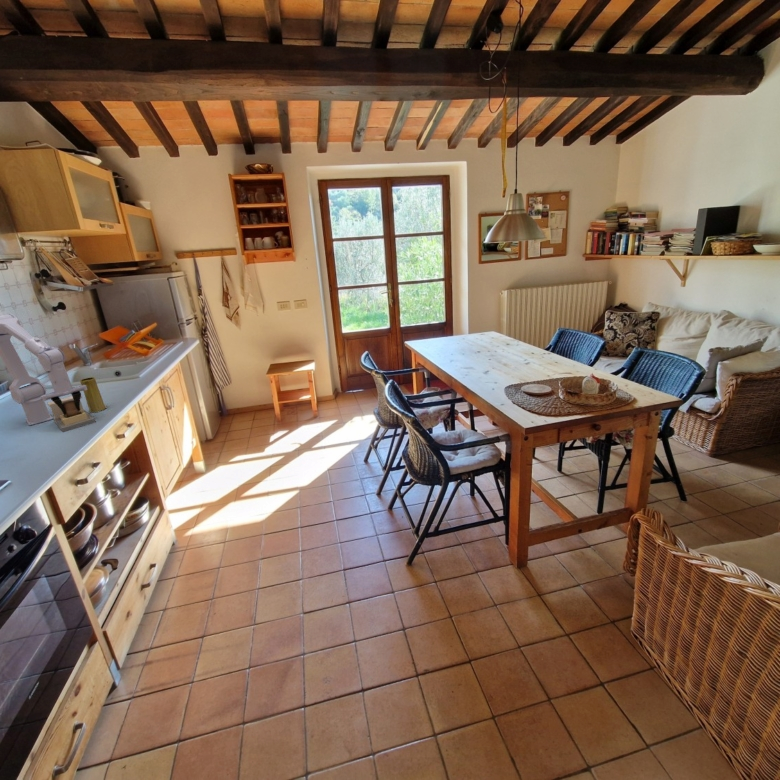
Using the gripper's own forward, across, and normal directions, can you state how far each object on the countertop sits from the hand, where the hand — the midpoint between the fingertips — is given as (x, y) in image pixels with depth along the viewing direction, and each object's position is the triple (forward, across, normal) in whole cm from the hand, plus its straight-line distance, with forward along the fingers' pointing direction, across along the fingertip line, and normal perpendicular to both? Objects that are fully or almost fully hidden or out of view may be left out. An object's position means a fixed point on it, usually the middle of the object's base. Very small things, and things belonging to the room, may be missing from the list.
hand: (71, 412), depth 164 cm
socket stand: (+5, 0, +2) cm, 5 cm away
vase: (+5, +10, +10) cm, 15 cm away
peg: (+2, 0, 0) cm, 2 cm away
